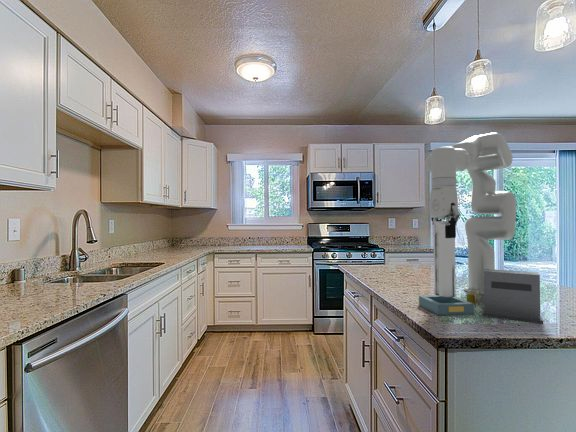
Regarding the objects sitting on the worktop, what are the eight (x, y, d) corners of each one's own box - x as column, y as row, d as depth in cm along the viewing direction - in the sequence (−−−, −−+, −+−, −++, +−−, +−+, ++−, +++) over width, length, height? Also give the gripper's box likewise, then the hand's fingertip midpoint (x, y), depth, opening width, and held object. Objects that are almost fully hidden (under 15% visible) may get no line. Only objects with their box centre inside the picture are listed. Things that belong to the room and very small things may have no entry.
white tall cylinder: (458, 298, 103) (457, 220, 103) (436, 297, 104) (436, 221, 104) (452, 293, 109) (451, 220, 109) (432, 292, 110) (431, 220, 111)
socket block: (451, 304, 113) (451, 294, 113) (474, 314, 101) (474, 303, 101) (419, 305, 112) (418, 295, 112) (438, 316, 100) (438, 305, 100)
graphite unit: (482, 310, 106) (481, 268, 106) (539, 316, 98) (538, 271, 99) (482, 316, 99) (481, 271, 100) (543, 324, 92) (542, 275, 92)
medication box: (472, 298, 123) (472, 287, 123) (481, 299, 121) (480, 288, 122) (467, 304, 114) (466, 293, 114) (475, 305, 112) (475, 294, 112)
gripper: (419, 186, 115) (420, 236, 115) (448, 180, 98) (449, 238, 98) (439, 187, 116) (440, 235, 116) (471, 181, 99) (471, 238, 98)
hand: (444, 236), depth 107 cm, fingers closed on white tall cylinder, 6 cm apart
